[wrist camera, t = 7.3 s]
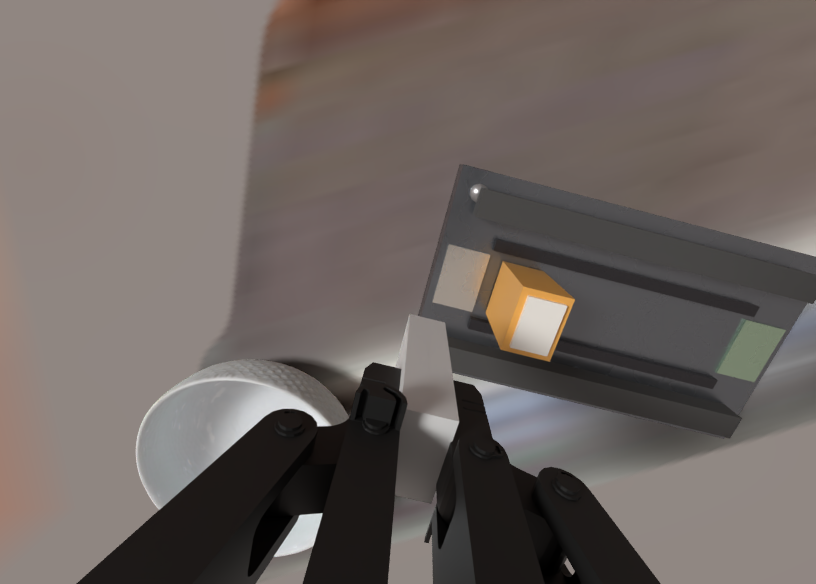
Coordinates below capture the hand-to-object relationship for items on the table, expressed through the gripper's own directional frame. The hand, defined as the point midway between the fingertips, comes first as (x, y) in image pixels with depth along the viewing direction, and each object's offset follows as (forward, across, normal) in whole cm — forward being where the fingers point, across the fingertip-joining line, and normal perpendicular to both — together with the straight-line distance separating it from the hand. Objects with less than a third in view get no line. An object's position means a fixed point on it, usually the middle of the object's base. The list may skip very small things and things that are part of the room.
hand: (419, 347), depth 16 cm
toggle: (+12, +7, 0) cm, 14 cm away
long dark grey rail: (+12, +14, +6) cm, 19 cm away
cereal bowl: (+16, -9, -18) cm, 25 cm away
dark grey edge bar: (+12, +14, -5) cm, 19 cm away
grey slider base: (+15, +14, 0) cm, 21 cm away
